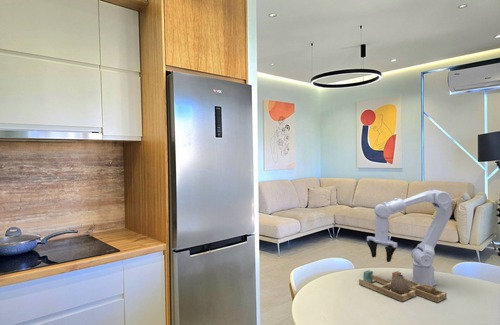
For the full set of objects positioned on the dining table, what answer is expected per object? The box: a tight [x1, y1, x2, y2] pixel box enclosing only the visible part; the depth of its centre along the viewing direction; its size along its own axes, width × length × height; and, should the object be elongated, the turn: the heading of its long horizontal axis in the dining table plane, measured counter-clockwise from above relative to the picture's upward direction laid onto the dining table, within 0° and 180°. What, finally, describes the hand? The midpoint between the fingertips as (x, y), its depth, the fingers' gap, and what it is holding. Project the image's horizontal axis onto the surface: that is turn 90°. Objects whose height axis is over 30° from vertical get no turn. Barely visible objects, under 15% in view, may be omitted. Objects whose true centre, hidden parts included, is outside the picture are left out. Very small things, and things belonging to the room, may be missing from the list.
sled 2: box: [389, 270, 447, 303], centre depth 135 cm, size 8×20×5 cm, turn 33°
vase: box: [390, 273, 409, 295], centre depth 131 cm, size 7×7×9 cm
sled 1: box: [358, 269, 417, 302], centre depth 136 cm, size 10×20×5 cm, turn 33°
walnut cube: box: [421, 284, 437, 296], centre depth 131 cm, size 4×4×4 cm
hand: (381, 259), depth 146 cm, fingers open, 7 cm apart
